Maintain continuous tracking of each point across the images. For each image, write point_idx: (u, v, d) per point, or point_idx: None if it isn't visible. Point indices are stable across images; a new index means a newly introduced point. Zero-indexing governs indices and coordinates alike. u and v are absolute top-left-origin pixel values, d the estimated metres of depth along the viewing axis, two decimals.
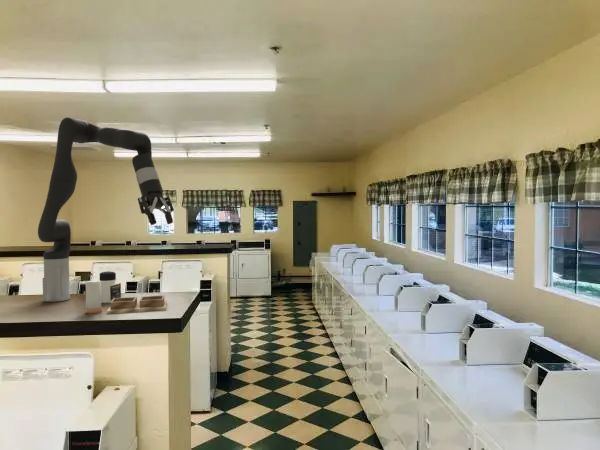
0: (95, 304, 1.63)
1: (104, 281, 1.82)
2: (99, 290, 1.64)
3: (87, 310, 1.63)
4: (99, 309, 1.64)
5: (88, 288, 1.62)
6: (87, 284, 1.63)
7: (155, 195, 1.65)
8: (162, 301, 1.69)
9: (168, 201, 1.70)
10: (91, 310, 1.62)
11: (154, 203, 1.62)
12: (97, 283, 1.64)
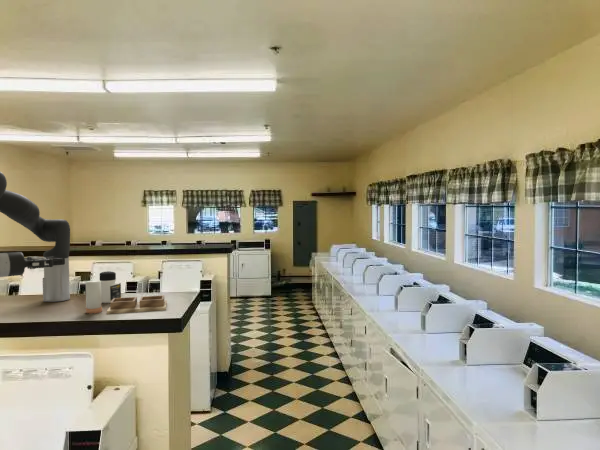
0: (95, 304, 1.63)
1: (104, 281, 1.82)
2: (99, 290, 1.64)
3: (87, 310, 1.63)
4: (99, 309, 1.64)
5: (88, 288, 1.62)
6: (87, 284, 1.63)
7: None
8: (162, 301, 1.69)
9: None
10: (91, 310, 1.62)
11: None
12: (97, 283, 1.64)
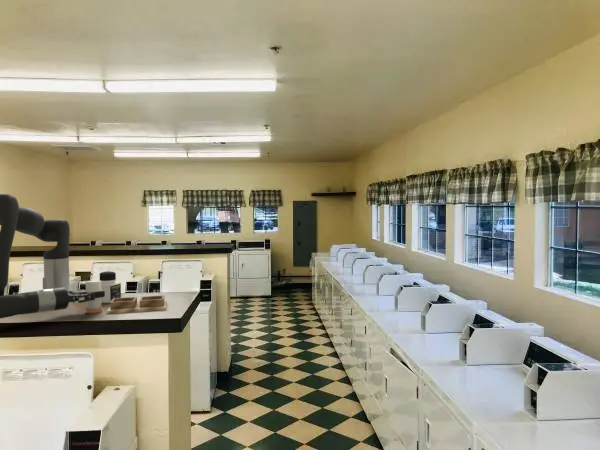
0: (95, 304, 1.63)
1: (104, 281, 1.82)
2: (99, 290, 1.64)
3: (87, 310, 1.63)
4: (99, 309, 1.64)
5: (88, 288, 1.62)
6: (87, 284, 1.63)
7: None
8: (162, 301, 1.69)
9: None
10: (91, 310, 1.62)
11: None
12: (97, 283, 1.63)
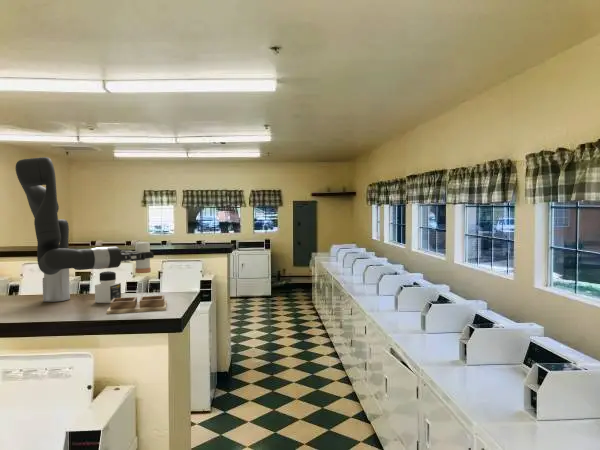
0: (145, 264, 1.68)
1: (104, 281, 1.82)
2: (148, 251, 1.69)
3: (137, 270, 1.68)
4: (148, 269, 1.69)
5: (138, 248, 1.67)
6: (137, 245, 1.68)
7: None
8: (162, 301, 1.69)
9: None
10: (141, 270, 1.67)
11: None
12: (146, 244, 1.68)
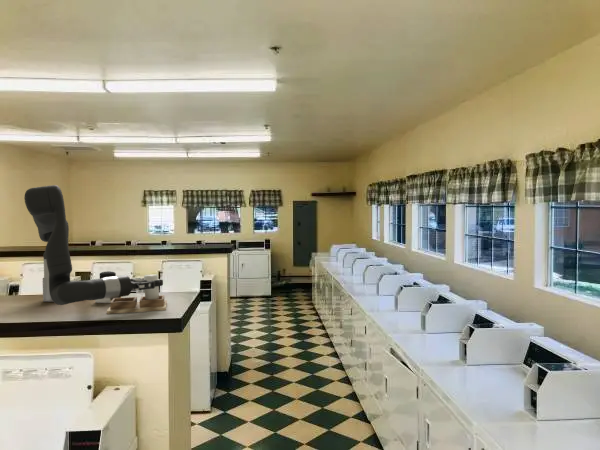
0: (154, 297, 1.70)
1: None
2: None
3: None
4: None
5: None
6: (146, 278, 1.69)
7: None
8: (162, 301, 1.69)
9: None
10: None
11: None
12: (155, 276, 1.70)
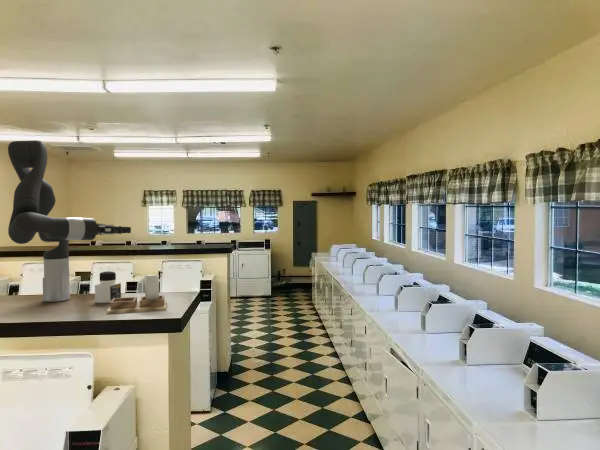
0: (154, 297, 1.70)
1: (104, 281, 1.82)
2: (157, 283, 1.71)
3: None
4: None
5: (148, 281, 1.69)
6: (147, 277, 1.70)
7: None
8: (162, 301, 1.69)
9: (109, 233, 1.55)
10: None
11: None
12: (156, 276, 1.71)
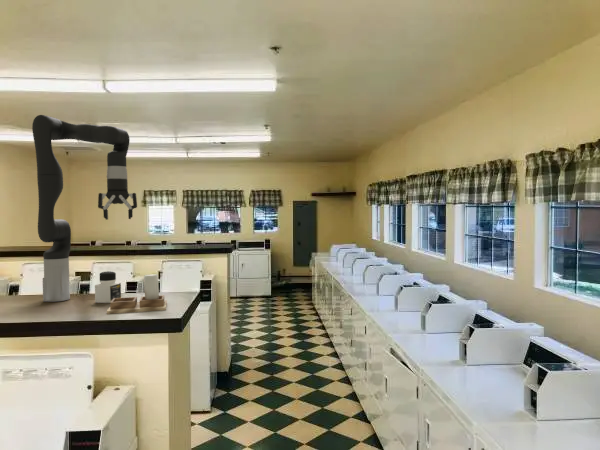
0: (154, 297, 1.70)
1: (104, 281, 1.82)
2: (157, 283, 1.71)
3: None
4: None
5: (147, 281, 1.69)
6: (146, 278, 1.69)
7: (116, 192, 1.80)
8: (162, 301, 1.69)
9: (132, 198, 1.82)
10: None
11: (110, 201, 1.79)
12: (155, 276, 1.70)
